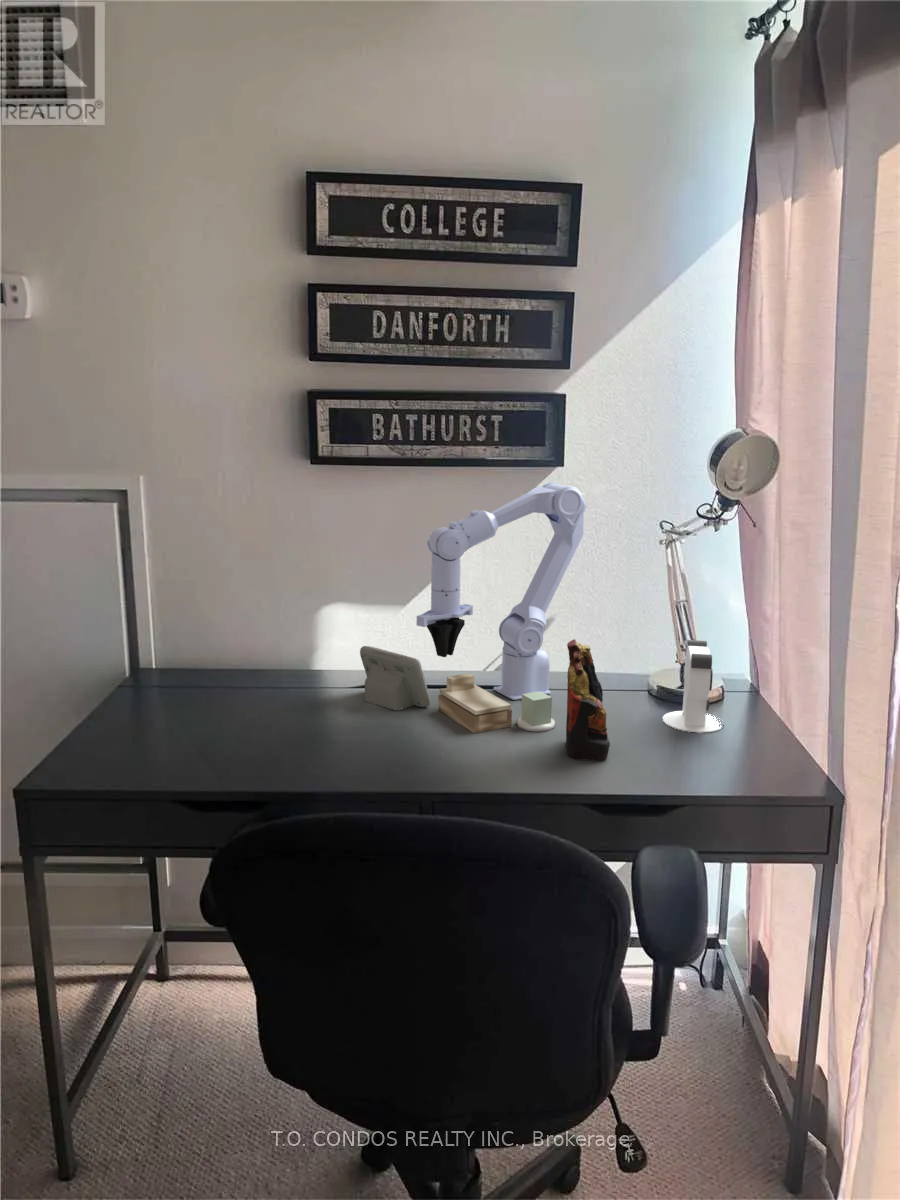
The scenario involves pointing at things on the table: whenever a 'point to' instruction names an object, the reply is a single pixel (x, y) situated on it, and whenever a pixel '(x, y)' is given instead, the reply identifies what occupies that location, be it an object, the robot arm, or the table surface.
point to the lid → (472, 695)
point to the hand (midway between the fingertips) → (444, 655)
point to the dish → (537, 728)
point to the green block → (536, 708)
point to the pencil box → (475, 717)
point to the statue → (584, 707)
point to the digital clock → (393, 679)
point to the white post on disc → (695, 692)
